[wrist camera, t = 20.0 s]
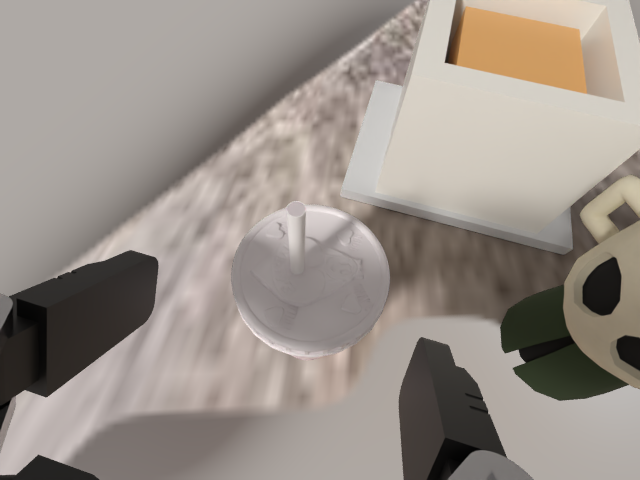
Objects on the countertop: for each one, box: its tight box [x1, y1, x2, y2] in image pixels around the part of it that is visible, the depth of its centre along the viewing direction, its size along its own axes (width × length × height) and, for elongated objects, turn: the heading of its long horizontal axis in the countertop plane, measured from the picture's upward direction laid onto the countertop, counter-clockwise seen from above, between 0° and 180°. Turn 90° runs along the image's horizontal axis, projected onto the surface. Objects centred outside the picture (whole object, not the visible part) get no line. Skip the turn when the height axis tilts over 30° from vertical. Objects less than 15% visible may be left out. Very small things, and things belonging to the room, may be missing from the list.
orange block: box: [445, 6, 587, 94], centre depth 24 cm, size 7×7×8 cm
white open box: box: [340, 0, 640, 255], centre depth 25 cm, size 17×13×11 cm
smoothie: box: [231, 201, 390, 360], centre depth 16 cm, size 6×6×14 cm
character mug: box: [500, 175, 640, 401], centre depth 17 cm, size 11×7×13 cm, turn 17°
